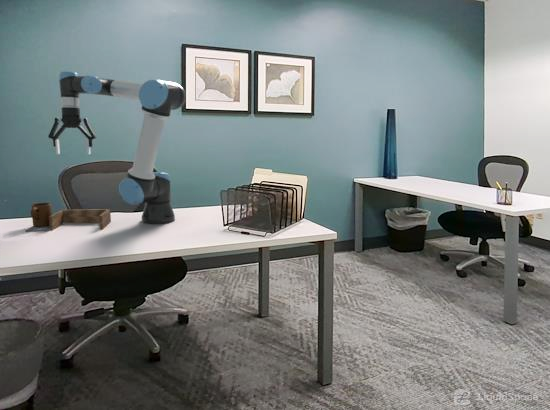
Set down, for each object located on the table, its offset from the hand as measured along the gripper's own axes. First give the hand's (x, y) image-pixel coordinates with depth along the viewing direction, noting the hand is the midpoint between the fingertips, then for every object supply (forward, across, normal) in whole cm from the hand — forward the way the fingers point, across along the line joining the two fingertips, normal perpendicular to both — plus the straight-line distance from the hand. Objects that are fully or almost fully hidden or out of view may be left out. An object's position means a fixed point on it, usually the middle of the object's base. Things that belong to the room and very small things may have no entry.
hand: (73, 154), depth 201 cm
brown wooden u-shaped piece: (+31, -6, +16) cm, 35 cm away
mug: (+30, +10, +18) cm, 37 cm away
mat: (+31, +10, +18) cm, 37 cm away
